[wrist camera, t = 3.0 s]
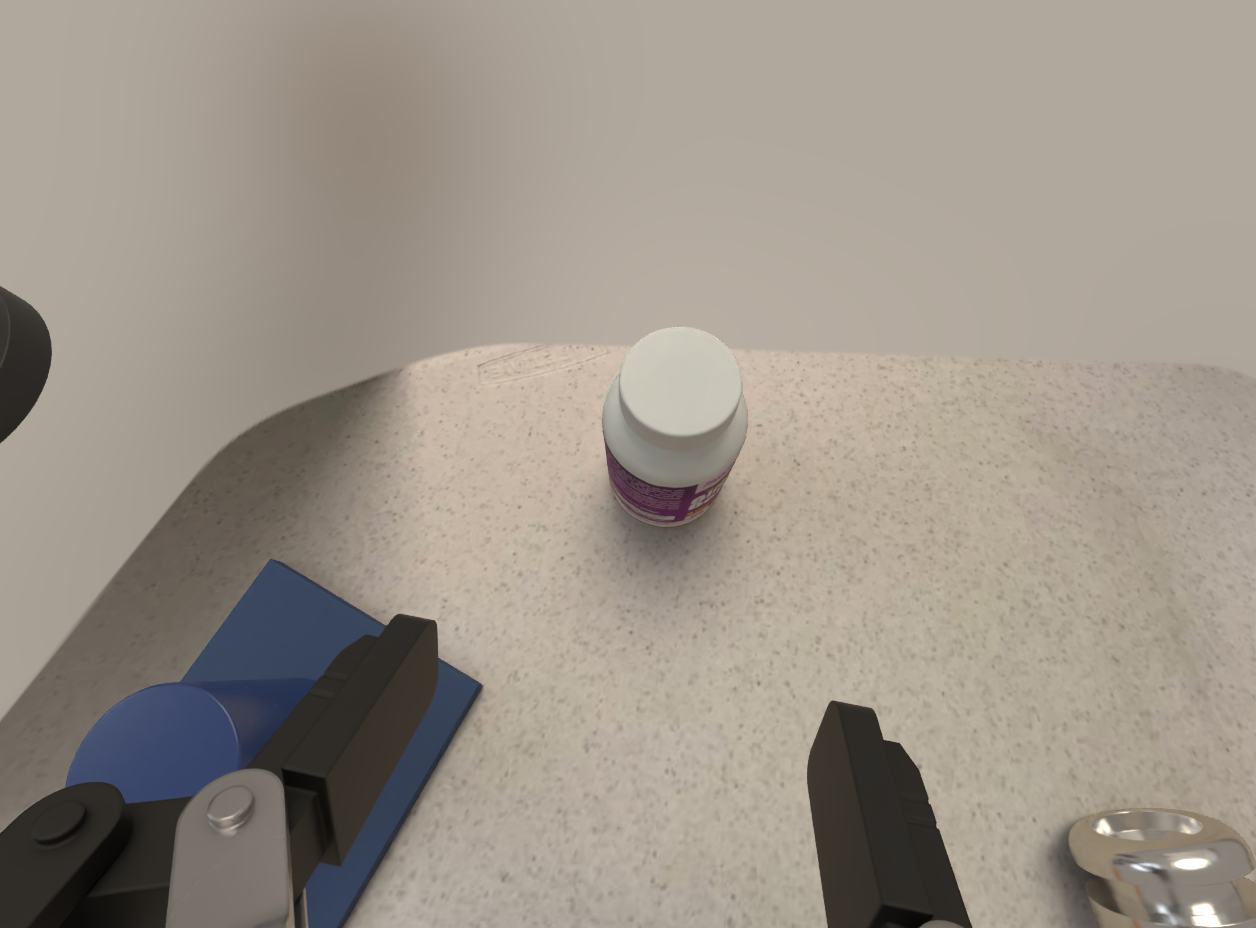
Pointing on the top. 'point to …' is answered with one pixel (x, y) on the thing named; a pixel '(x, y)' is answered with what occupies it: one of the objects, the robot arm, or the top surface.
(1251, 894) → the grooved metal pulley
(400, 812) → the blue mat
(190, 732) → the blue tin
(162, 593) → the top surface
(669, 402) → the pill bottle
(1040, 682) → the top surface
